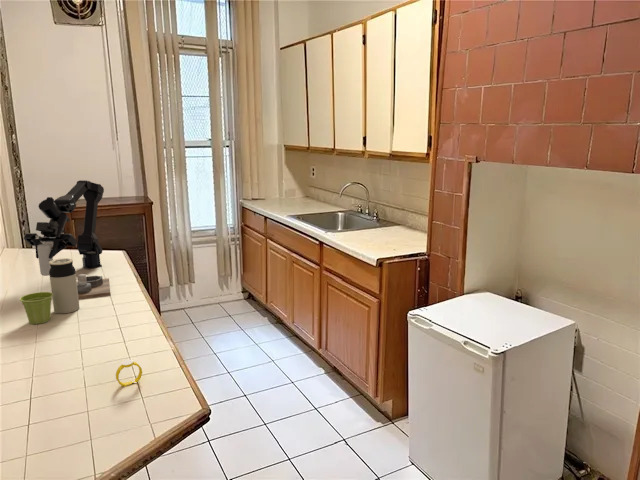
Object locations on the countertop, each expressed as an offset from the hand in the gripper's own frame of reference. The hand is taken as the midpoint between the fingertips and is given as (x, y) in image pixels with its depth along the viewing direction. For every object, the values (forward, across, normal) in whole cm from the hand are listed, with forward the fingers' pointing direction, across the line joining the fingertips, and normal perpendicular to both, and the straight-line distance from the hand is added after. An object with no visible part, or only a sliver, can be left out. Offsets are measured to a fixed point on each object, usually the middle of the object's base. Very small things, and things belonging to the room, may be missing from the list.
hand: (43, 258), depth 185 cm
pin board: (+9, +16, +10) cm, 21 cm away
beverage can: (+4, 0, +6) cm, 7 cm away
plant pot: (+31, +17, -13) cm, 38 cm away
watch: (+58, +64, -40) cm, 95 cm away
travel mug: (+24, +20, -6) cm, 32 cm away
